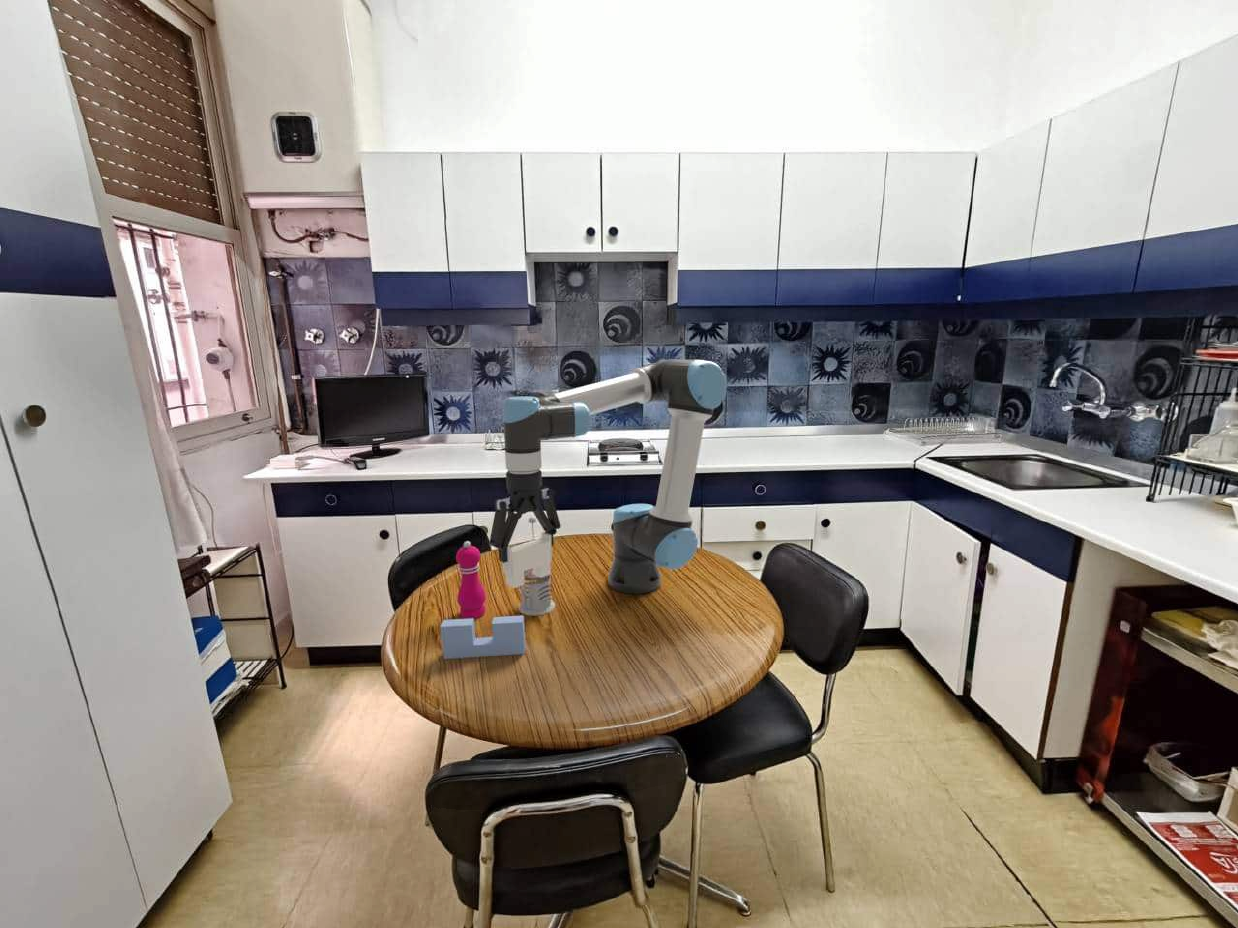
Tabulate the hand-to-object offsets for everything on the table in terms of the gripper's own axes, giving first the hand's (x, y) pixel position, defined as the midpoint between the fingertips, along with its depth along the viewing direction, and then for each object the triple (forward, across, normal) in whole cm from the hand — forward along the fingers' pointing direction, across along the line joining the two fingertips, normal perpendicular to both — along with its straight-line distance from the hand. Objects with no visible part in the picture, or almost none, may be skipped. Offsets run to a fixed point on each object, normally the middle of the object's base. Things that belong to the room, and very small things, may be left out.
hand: (528, 567), depth 121 cm
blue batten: (+20, +8, -7) cm, 23 cm away
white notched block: (+3, 0, 0) cm, 3 cm away
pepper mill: (+21, 0, -25) cm, 32 cm away
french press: (+20, -13, -15) cm, 28 cm away
